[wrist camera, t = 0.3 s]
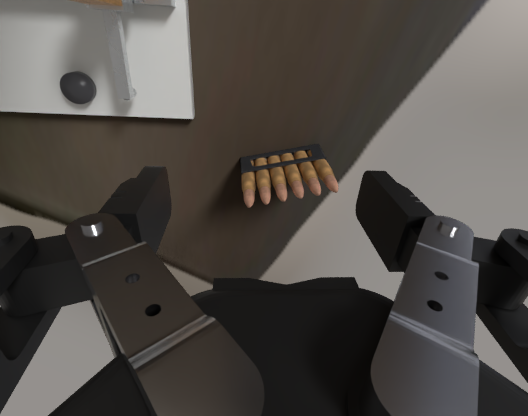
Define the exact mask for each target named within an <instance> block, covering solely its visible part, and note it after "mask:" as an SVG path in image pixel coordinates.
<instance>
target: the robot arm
mask: <svg viewBox="0 0 528 416" xmlns="http://www.w3.org/2000/svg"><path fill="white" fill-rule="evenodd" d="M170 216H171V196H170V189H169V181H168V174H167V169H166V167H164V166H145V167H144V168H143V169H142V171H141V172H140V174H139V175H138V176H137V178H130V179H129V180H127V181H125V182H123V183H122V184H120V186H119V187H118V188H117V189H116V191H115V192H114V193H113V195H112V196H111V198H109V200H108V201H107V202H106V203H105V205H104V206H103V207H102V208H101V210H100V211H99V212H98V213H95V214H89V215H86V216H83V217H80V218H78V219H76V220H74V221H73V222H71V223H70V224H69V225H68V226H67V227H66V229H65V234H63V235H58V236H52V237H46V238H41V239H35V238H34V236H33V233H32V231H31V229H30V228H28V227H25V226H7V227H2V228H0V305H1V307H0V413H1V411H2V410H3V408H4V406H5V404H6V403H7V401H8V399H9V397H10V396H11V394H12V392H13V391H14V389H15V387H16V385H17V384H18V382H19V380H20V378H21V377H22V375H23V373H24V371H25V370H26V368H27V366H28V364H29V363H30V361H31V359H32V357H33V356H34V354H35V352H36V351H37V349H38V347H39V345H40V344H41V342H42V340H43V338H44V337H45V335H46V333H47V332H48V330H49V328H50V326H51V325H52V323H53V321H54V319H55V318H56V316H57V314H58V312H59V311H60V309H61V307H62V306H67V305H71V304H75V303H78V302H83V301H87V300H90V302H91V304H92V306H93V309H94V311H95V313H96V316H97V317H98V320H99V322H100V324H101V326H102V329H103V331H104V333H105V336H106V338H107V340H108V342H109V345H110V347H111V350H112V352H113V355H114V357H115V358H114V359H113V360H112V361H111V362H110V363H109V364H107V365H106V366H105V367H104V368H103V369H101V370H100V371H99V372H98V373H97V374H96V375H94V376H93V377H92V378H91V379H90V380H89V381H88V382H86V383H85V384H84V385H83V386H82V387H81V388H79V389H78V390H77V391H76V392H75V393H74V394H72V395H71V396H70V397H69V398H68V399H67V400H66V401H64V402H63V403H62V404H61V405H60V406H59V407H57V408H56V409H55V410H54V411H53V412H52V413H50V414H49V415H48V416H528V393H527V392H526V391H524V390H523V389H521V388H520V387H518V386H517V385H515V384H514V383H513V382H511V381H509V380H508V379H507V378H505V377H504V376H502V375H501V374H500V373H498V372H496V371H495V370H494V369H492V368H490V367H489V366H488V365H486V364H485V363H483V362H482V361H481V360H479V358H478V355H477V354H476V353H474V333H475V317H476V314H477V315H478V316H479V318H480V319H481V321H482V322H483V323H484V325H485V326H486V327H487V329H488V330H489V331H490V333H491V334H492V335H493V337H494V338H495V340H496V341H497V342H498V343H499V345H500V346H501V348H502V349H503V350H504V352H505V353H506V354H507V355H508V357H509V358H510V360H511V361H512V362H513V364H514V365H515V366H516V368H517V369H518V370H519V372H520V373H521V375H522V376H523V377H524V378H525V380H526V381H527V383H528V308H527V307H526V306H525V305H524V304H523V302H524V300H525V299H526V298H527V296H528V231H524V230H520V229H504V230H503V231H502V232H501V234H500V236H499V237H498V239H497V241H494V240H489V239H483V238H478V237H474V233H473V231H472V229H471V228H469V227H468V226H467V225H466V224H464V223H462V222H460V221H458V220H456V219H453V218H450V217H446V216H436V215H434V213H432V211H430V210H429V209H428V208H427V207H426V206H425V205H424V204H423V203H422V202H420V200H419V199H418V198H417V197H415V195H414V194H413V193H412V192H411V191H410V190H409V189H408V188H406V187H404V186H402V185H401V184H399V183H397V182H396V181H395V180H394V179H393V178H392V177H391V176H390V175H389V174H388V173H387V172H386V171H366V172H365V173H364V175H363V178H362V181H361V186H360V190H359V194H358V198H357V203H356V216H357V219H358V220H359V222H360V224H361V226H362V227H363V229H364V230H365V232H366V234H367V236H368V237H369V239H370V240H371V242H372V244H373V245H374V247H375V249H376V251H377V252H378V254H379V256H380V257H381V259H382V261H383V262H384V264H385V266H386V267H387V269H388V271H389V272H404V273H405V274H404V276H403V279H402V281H401V284H400V287H399V289H398V292H397V294H396V297H395V300H394V301H392V300H390V299H388V298H387V297H384V296H382V295H380V294H378V293H375V292H372V291H369V290H365V289H361V288H359V287H358V284H357V282H356V280H355V278H354V277H340V278H339V277H334V278H333V277H330V278H316V279H312V280H307V281H303V282H298V283H293V284H288V285H285V284H279V283H273V282H268V281H262V280H257V279H251V278H214V282H213V289H212V290H207V291H204V292H201V293H198V294H196V295H193V296H191V297H190V296H189V294H188V293H187V292H186V291H185V289H184V288H183V287H182V286H181V285H180V283H179V282H178V281H177V280H176V279H175V277H174V276H173V275H172V273H171V272H170V271H169V270H168V269H167V267H166V266H165V265H164V263H163V262H162V261H161V260H160V259H159V257H158V256H157V255H156V252H157V249H158V247H159V244H160V242H161V239H162V236H163V234H164V231H165V229H166V226H167V224H168V221H169V219H170Z"/></svg>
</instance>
